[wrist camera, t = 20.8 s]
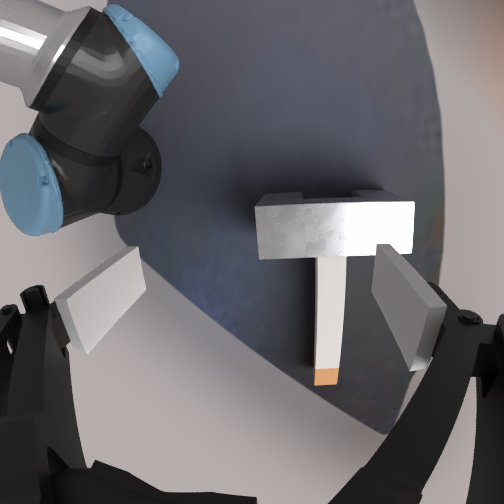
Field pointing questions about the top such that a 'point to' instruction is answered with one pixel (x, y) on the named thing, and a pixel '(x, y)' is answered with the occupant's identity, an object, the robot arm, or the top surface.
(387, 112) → the top surface
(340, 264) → the white and orange bar
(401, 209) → the grey arch-shaped block
